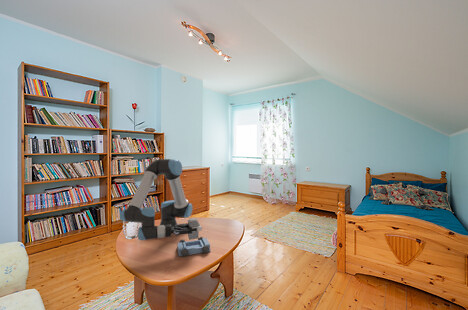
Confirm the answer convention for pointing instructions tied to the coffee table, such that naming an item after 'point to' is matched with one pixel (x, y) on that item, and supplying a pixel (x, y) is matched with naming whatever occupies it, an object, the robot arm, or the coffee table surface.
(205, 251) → the chassis
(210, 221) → the coffee table surface
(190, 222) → the block
